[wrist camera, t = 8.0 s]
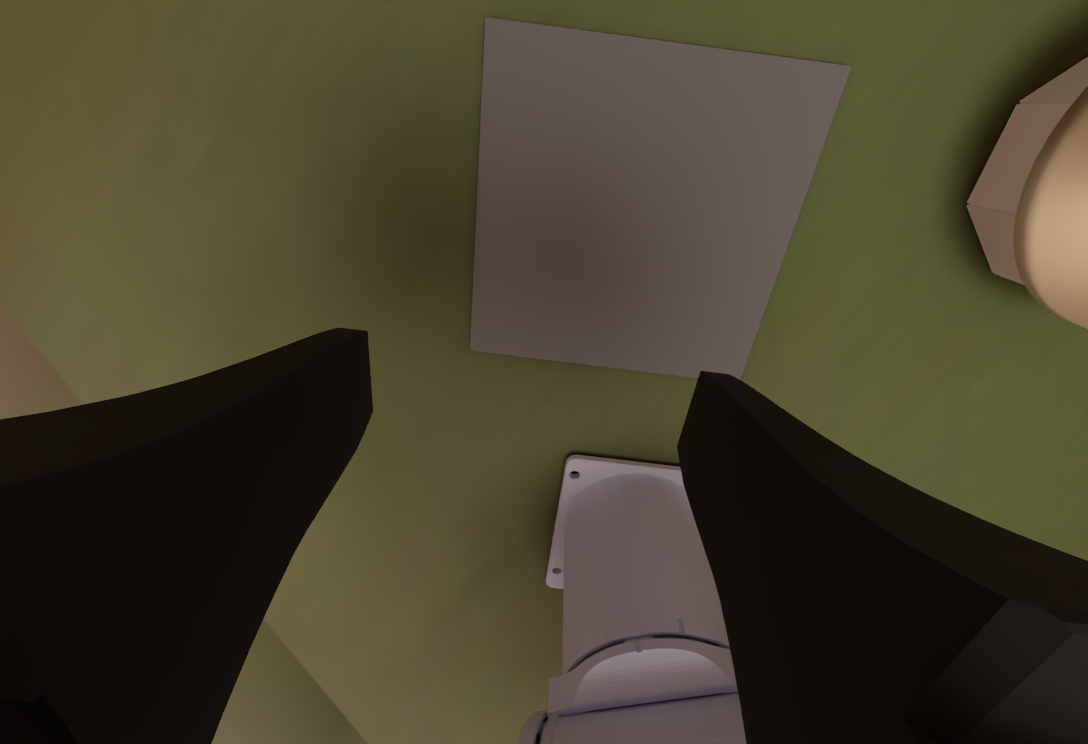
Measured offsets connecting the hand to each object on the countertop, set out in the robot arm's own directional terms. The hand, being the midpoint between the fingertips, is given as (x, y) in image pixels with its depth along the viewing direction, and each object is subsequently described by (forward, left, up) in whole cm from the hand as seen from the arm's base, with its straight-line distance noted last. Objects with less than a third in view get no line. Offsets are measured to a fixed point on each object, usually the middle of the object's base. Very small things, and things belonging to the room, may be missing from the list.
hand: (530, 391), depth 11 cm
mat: (+2, -3, -10) cm, 11 cm away
